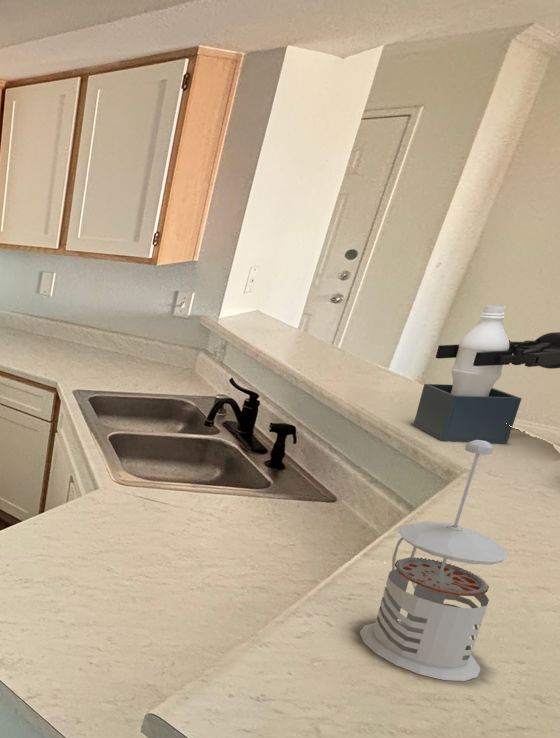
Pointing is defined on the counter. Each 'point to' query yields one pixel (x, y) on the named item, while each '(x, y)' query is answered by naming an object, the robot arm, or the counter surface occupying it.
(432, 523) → the french press
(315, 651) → the counter surface
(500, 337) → the water bottle
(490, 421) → the tub
